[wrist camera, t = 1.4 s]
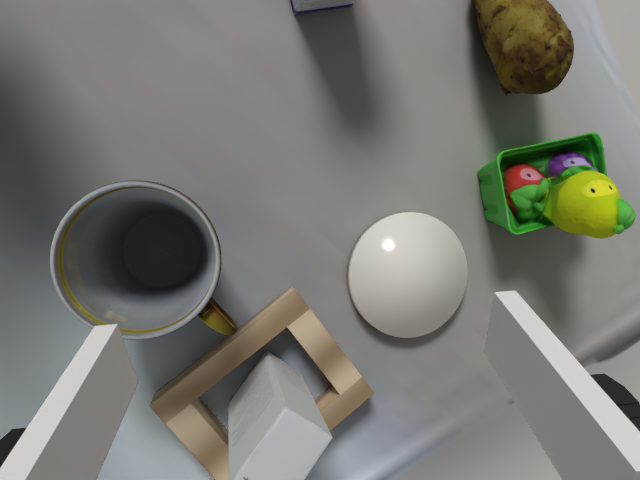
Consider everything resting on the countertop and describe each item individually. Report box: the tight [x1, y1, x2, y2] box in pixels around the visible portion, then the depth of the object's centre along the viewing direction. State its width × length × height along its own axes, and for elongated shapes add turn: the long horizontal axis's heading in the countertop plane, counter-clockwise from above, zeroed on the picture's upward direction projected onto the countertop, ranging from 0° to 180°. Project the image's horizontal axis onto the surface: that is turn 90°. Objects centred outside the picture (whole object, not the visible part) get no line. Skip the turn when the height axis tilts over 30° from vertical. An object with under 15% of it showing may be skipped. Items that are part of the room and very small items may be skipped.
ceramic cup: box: [50, 181, 238, 340], centre depth 31 cm, size 13×10×10 cm
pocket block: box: [150, 287, 374, 480], centre depth 36 cm, size 12×15×2 cm
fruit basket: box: [478, 132, 635, 238], centre depth 37 cm, size 11×9×11 cm
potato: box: [472, 0, 574, 95], centre depth 37 cm, size 8×13×8 cm, turn 177°
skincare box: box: [228, 351, 333, 480], centre depth 32 cm, size 6×4×12 cm
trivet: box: [347, 212, 468, 338], centre depth 39 cm, size 12×12×1 cm
